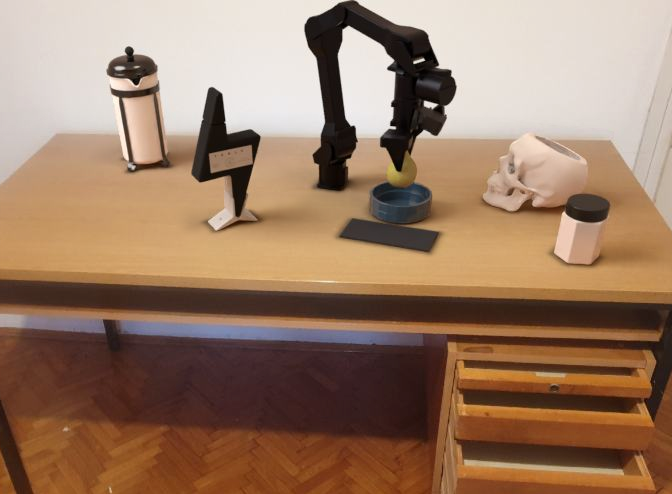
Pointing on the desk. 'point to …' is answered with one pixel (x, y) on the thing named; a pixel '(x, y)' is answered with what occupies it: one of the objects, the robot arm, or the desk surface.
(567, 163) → the skull planter
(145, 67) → the coffee press
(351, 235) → the place mat
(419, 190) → the bowl
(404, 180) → the fruit
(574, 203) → the jar
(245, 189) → the award
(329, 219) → the desk surface
